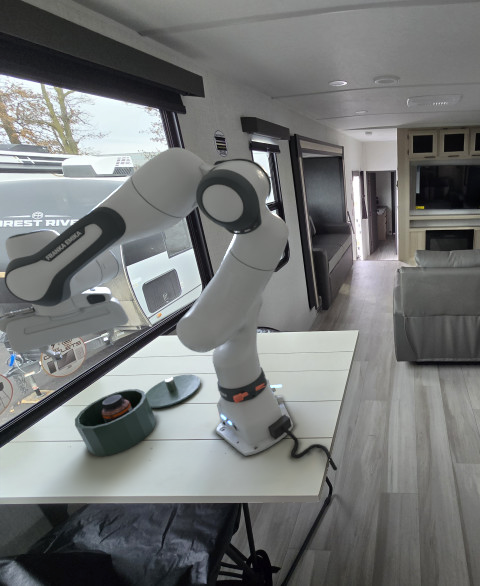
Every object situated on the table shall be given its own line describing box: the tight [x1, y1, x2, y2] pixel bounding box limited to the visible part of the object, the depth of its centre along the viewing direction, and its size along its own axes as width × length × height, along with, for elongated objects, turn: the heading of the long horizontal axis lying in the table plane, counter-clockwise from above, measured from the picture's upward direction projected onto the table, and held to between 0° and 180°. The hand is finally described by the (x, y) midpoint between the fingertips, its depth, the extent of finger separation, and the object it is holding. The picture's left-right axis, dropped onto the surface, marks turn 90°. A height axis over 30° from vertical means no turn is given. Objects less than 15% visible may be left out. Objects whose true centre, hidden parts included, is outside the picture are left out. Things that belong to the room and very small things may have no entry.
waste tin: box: [74, 388, 157, 457], centre depth 85 cm, size 15×15×10 cm
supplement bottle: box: [102, 395, 133, 423], centre depth 85 cm, size 6×6×11 cm
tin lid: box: [145, 374, 201, 409], centre depth 102 cm, size 16×16×5 cm
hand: (85, 351), depth 76 cm, fingers open, 8 cm apart
